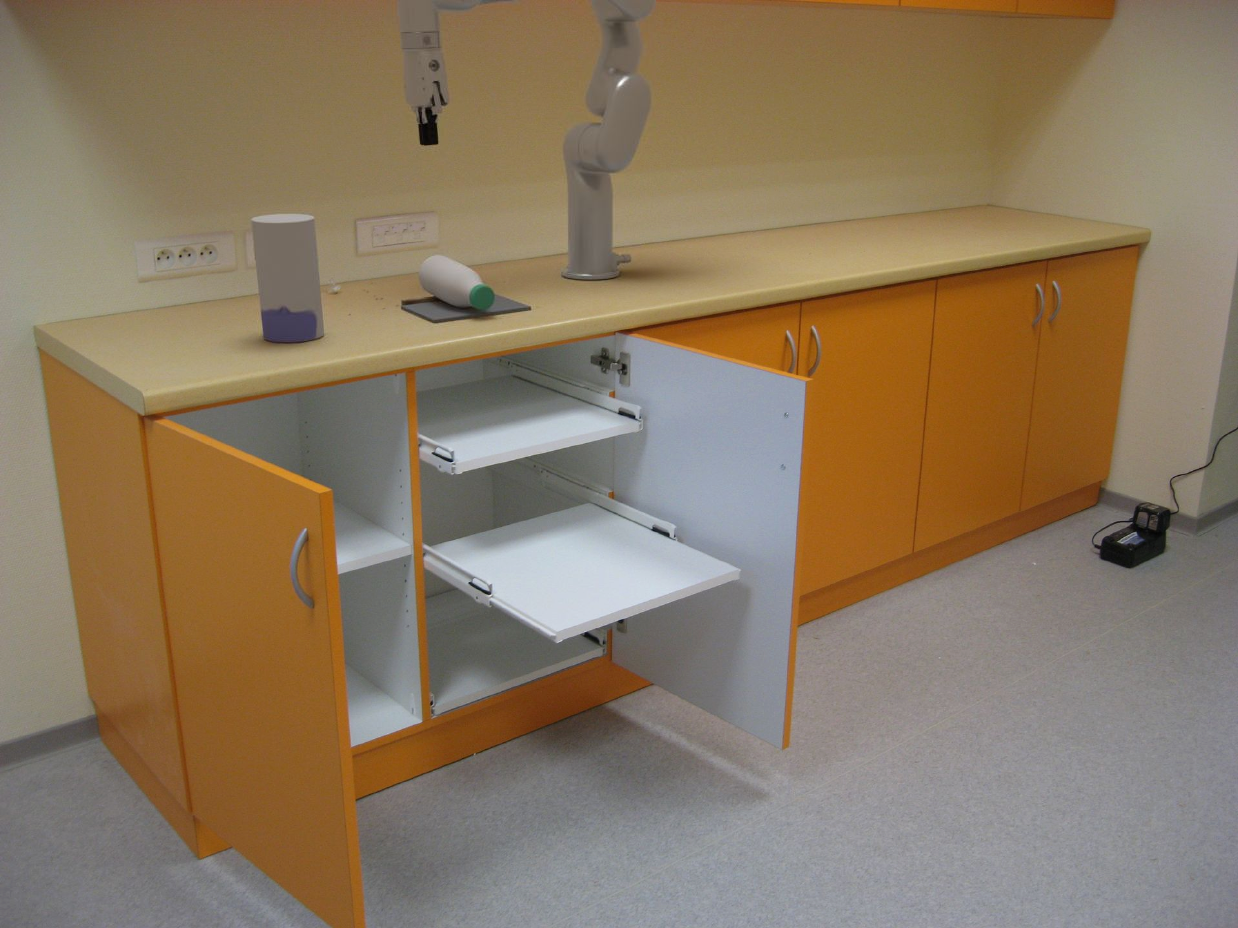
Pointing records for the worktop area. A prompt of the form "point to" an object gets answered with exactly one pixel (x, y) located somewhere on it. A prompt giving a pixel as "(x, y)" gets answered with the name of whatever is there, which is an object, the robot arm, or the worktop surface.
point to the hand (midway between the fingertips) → (429, 144)
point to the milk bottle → (454, 283)
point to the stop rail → (420, 300)
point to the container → (288, 277)
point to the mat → (462, 310)
